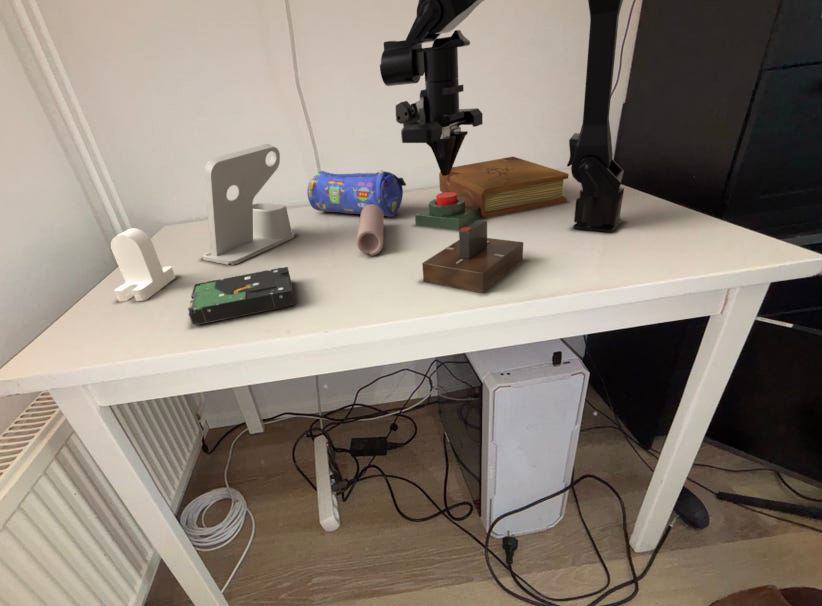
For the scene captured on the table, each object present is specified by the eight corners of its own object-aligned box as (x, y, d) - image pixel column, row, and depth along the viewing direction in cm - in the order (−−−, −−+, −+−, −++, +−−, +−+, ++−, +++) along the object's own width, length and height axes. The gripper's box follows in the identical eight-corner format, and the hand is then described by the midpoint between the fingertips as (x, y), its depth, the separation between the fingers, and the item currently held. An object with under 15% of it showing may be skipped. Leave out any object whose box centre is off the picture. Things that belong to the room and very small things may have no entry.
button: (461, 201, 95) (460, 192, 94) (450, 207, 92) (449, 198, 91) (443, 200, 97) (443, 191, 96) (432, 205, 95) (432, 196, 94)
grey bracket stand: (266, 231, 106) (244, 142, 96) (299, 235, 100) (279, 141, 91) (200, 259, 94) (168, 161, 85) (233, 265, 89) (203, 162, 79)
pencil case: (409, 210, 106) (405, 164, 101) (388, 222, 101) (383, 174, 96) (331, 206, 118) (324, 164, 113) (308, 217, 112) (299, 173, 107)
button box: (479, 218, 96) (479, 197, 94) (459, 230, 91) (458, 209, 89) (437, 214, 102) (436, 194, 100) (415, 225, 97) (414, 205, 95)
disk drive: (291, 281, 79) (198, 299, 77) (287, 265, 78) (193, 282, 76) (296, 307, 71) (192, 327, 69) (292, 289, 69) (186, 309, 67)
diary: (440, 195, 115) (438, 169, 112) (512, 181, 118) (512, 156, 115) (481, 219, 96) (481, 189, 93) (566, 202, 99) (568, 172, 96)
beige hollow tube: (383, 230, 82) (383, 203, 98) (355, 230, 82) (360, 203, 98) (383, 256, 85) (383, 226, 100) (356, 257, 85) (361, 226, 100)
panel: (522, 260, 76) (523, 241, 74) (482, 293, 68) (482, 272, 66) (466, 252, 81) (466, 234, 80) (423, 281, 73) (421, 261, 71)
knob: (477, 245, 75) (477, 218, 73) (487, 246, 74) (487, 219, 72) (459, 257, 72) (458, 229, 69) (469, 259, 71) (468, 230, 68)
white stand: (176, 276, 88) (156, 221, 82) (145, 300, 79) (120, 241, 74) (151, 277, 89) (129, 223, 83) (117, 301, 80) (91, 243, 75)
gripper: (432, 78, 94) (436, 163, 102) (371, 90, 82) (382, 185, 91) (483, 73, 88) (484, 164, 96) (426, 86, 76) (432, 188, 84)
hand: (445, 175), depth 92 cm, fingers closed
